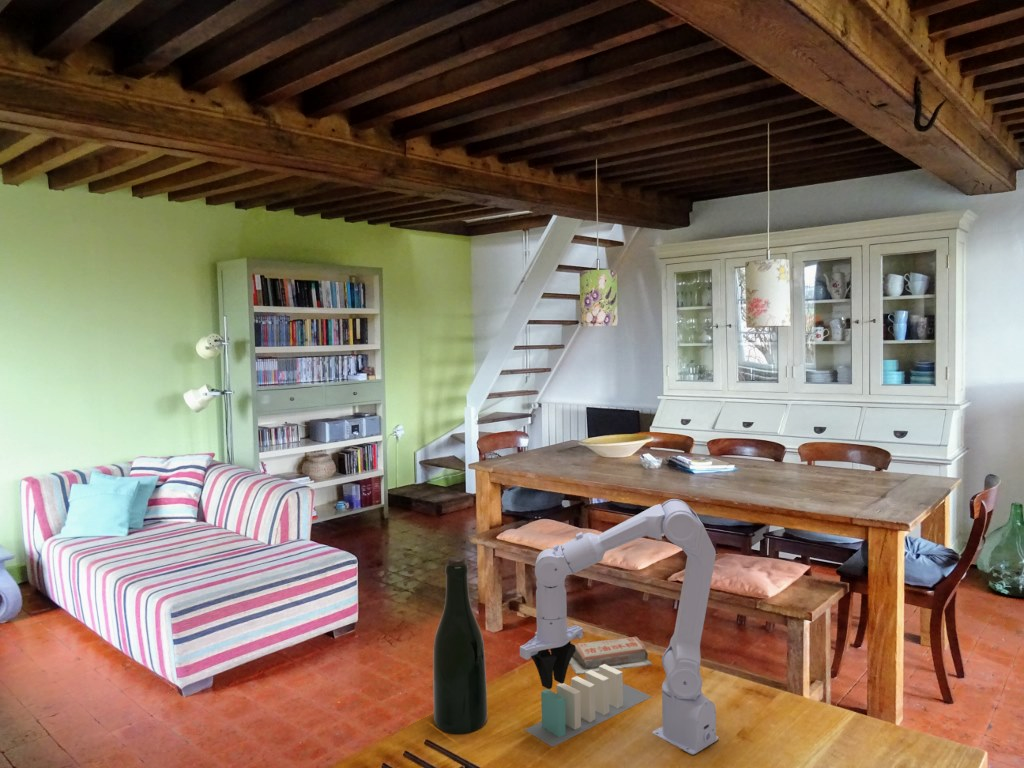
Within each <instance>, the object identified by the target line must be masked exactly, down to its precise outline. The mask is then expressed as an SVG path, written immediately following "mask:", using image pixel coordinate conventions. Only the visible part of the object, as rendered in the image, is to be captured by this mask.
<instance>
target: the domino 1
mask: <svg viewBox="0 0 1024 768" xmlns="http://www.w3.org/2000/svg"><path fill="white" fill-rule="evenodd" d="M540 694H541V696H540V697H541V700H540V701H541V721H542V727H544V728H545V729H547V730H548V731H550V732H551V733H553V734H554V735H556V736H558V737H561V736H563V735H565V698H563V697H561V696H559V695H558V694H557V692H554V691H552V689H547V688H546V689H544V690H541V692H540Z"/></svg>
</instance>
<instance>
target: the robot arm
mask: <svg viewBox="0 0 1024 768" xmlns="http://www.w3.org/2000/svg"><path fill="white" fill-rule="evenodd" d="M662 534H664V536H665V537H666V539H667V540H668V541H670V542H671V543H672V544H673V545H676V546H677V547H679V548H681V550H682V551H683V552H684V553H685V555H686V556H687V557H686V563H685V568H684V575H683V580H682V585H681V586H682V587H681V592H680V596H679V603H678V609H677V615H676V620H675V625H674V626H675V627H674V632H673V634H672V636H671V638H670V640H669V641H670V642H669V644H668V647H667V649H666V650H665V651H664V653H663V654H662V656H661V657H662V658H661V664H662V668H663V670H664V672H665V673H664V674H665V679H664V681H663V683H662V685H661V700H662V701H661V703H662V704H661V705H662V706H661V717H662V719H661V721H662V722H661V723H662V724H661V725H662V726H661V727H658V728H656V729H655V730H653V731H652V735H653V736H656V737H658V738H659V739H661V740H664V741H666V742H668V743H669V744H672V745H673V746H675V747H677V748H679V749H681V751H684V752H685V753H688V754H690V755H692V756H694V755H696V754H698V753H699V752H700V751H703V750H704V749H705V748H707V747H709V746H710V745H712V744H713V743H715V742H717V741H719V736H718V735H717V710H716V705H715V703H714V701H712V700H710V699H709V698H708V697H706V696H705V694H704V693H703V691H702V689H703V688H702V687H703V678H702V674H701V672H700V670H701V660H702V659H701V640H702V635H703V630H704V623H705V619H706V613H707V607H708V602H709V595H710V590H711V586H712V585H711V584H712V578H713V575H714V574H713V573H714V568H715V562H716V556H717V555H716V554H717V552H716V549H715V547H714V545H713V542H712V540H711V538H710V536H709V534H708V532H707V530H706V527H705V526H704V524H703V522H702V521H701V520H700V518H699V516H698V514H697V512H695V510H694V509H693V508H691V507H690V505H689V504H688V503H686V502H685V501H684V500H681V499H678V498H671V499H668V500H666V501H664V502H663V503H662V504H661V503H659V504H655V505H653V506H651V507H649V508H647V509H645V510H644V511H641V512H640V513H638V514H636V515H634V516H632V517H630V518H628V519H626V520H624V521H623V522H621V523H618V524H617V525H615V526H613V527H611V528H608V529H607V530H604V532H602V533H599V534H596V533H592V532H586V533H583V531H580V532H578V533H576V534H575V538H572V539H571V540H569V541H567V542H564V543H562V544H560V545H559V544H558V543H557V544H554V545H553V547H552V548H546V549H544V550H542V551H541V552H539V554H538V555H537V557H536V561H535V566H534V575H535V579H536V581H535V584H536V585H535V586H536V590H535V600H536V601H535V604H536V605H535V607H536V609H535V611H536V612H535V613H536V631H535V632H534V637H532V638H531V639H529V640H528V641H527V642H526V643H524V644H523V645H520V646H519V657H521V658H522V659H524V660H527V661H528V660H530V659H532V661H533V663H534V664H535V667H536V670H537V672H538V675H539V679H540V682H541V686H542V687H544V688H546V689H549V690H552V689H553V683H554V681H555V682H558V684H560V683H561V684H562V683H565V680H566V676H567V671H568V668H569V666H570V664H569V662H570V660H571V658H572V656H573V654H574V652H575V651H576V647H575V645H573V644H574V643H571V641H572V640H575V639H578V640H580V639H583V638H584V630H583V629H584V628H583V627H580V626H578V625H577V624H576V625H575V624H574V625H573V626H569V627H568V617H567V616H568V615H567V614H568V613H567V609H568V608H567V604H568V603H567V589H566V587H565V584H566V583H565V581H566V578H567V576H571V575H574V574H576V573H578V572H580V571H582V570H585V569H587V568H589V567H591V566H593V565H594V566H595V564H598V563H600V562H602V561H603V558H604V557H605V553H606V552H608V551H610V550H613V549H615V548H619V547H620V546H622V545H626V544H628V543H631V542H633V541H635V540H637V539H640V538H643V537H648V538H651V539H656V540H660V541H662V540H663V536H662ZM553 679H554V681H553Z"/></svg>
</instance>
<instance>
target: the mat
mask: <svg viewBox="0 0 1024 768" xmlns="http://www.w3.org/2000/svg"><path fill="white" fill-rule="evenodd" d="M650 698H652V696H651V695H649V694H648V693H645V692H644V691H642V690H639V689H637V688H634V687H632V686H630V685H629V684H626V683H623V706H621V707H619V708H616V707H614V706H612V705H610V704H609V713H607V714H605V715H603V714H601V713H599V712H597V711H595V720H593V721H591V722H588V721H587V720H585V719H583V718H581V727H579V728H577V729H573V728H571V727H569V726H568V725H566V724H565V735H563V736H561V737H558V736H556V735H554V734H553V733H551V732H550V731H548V730H547V729H545V728H544V727H542V720H541V721H539V722H538V723H535V724H533V725H532V726H529V727H526V728H525V729H524V731H525V732H527V733H529V734H530V735H532V736H533V737H536V738H537V739H539V740H540V741H542V742H544V743H545V744H547V745H549V746H550V747H552V748H554V747H556V746H558V745H560V744H562V743H564V742H566V741H568V740H570V739H572V738H573V737H575V736H577V735H579V734H581V733H583V732H585V731H588V730H590V729H591V728H593V727H595V726H597V725H599V724H602V723H603V722H605V721H607V720H609V719H610V718H611V719H612V718H613V717H615V716H617V715H618V714H619V715H620V713H623V712H625V711H626V710H629V709H630V708H633V707H635V706H636V705H638V704H640V703H643V702H645V701H646V700H648V699H650Z"/></svg>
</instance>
